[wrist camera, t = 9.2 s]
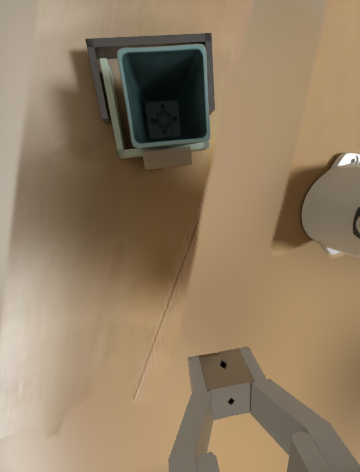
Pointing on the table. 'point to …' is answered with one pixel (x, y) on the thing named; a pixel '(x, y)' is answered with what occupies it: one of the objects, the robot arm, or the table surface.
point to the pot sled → (151, 156)
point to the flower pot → (165, 94)
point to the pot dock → (112, 45)
